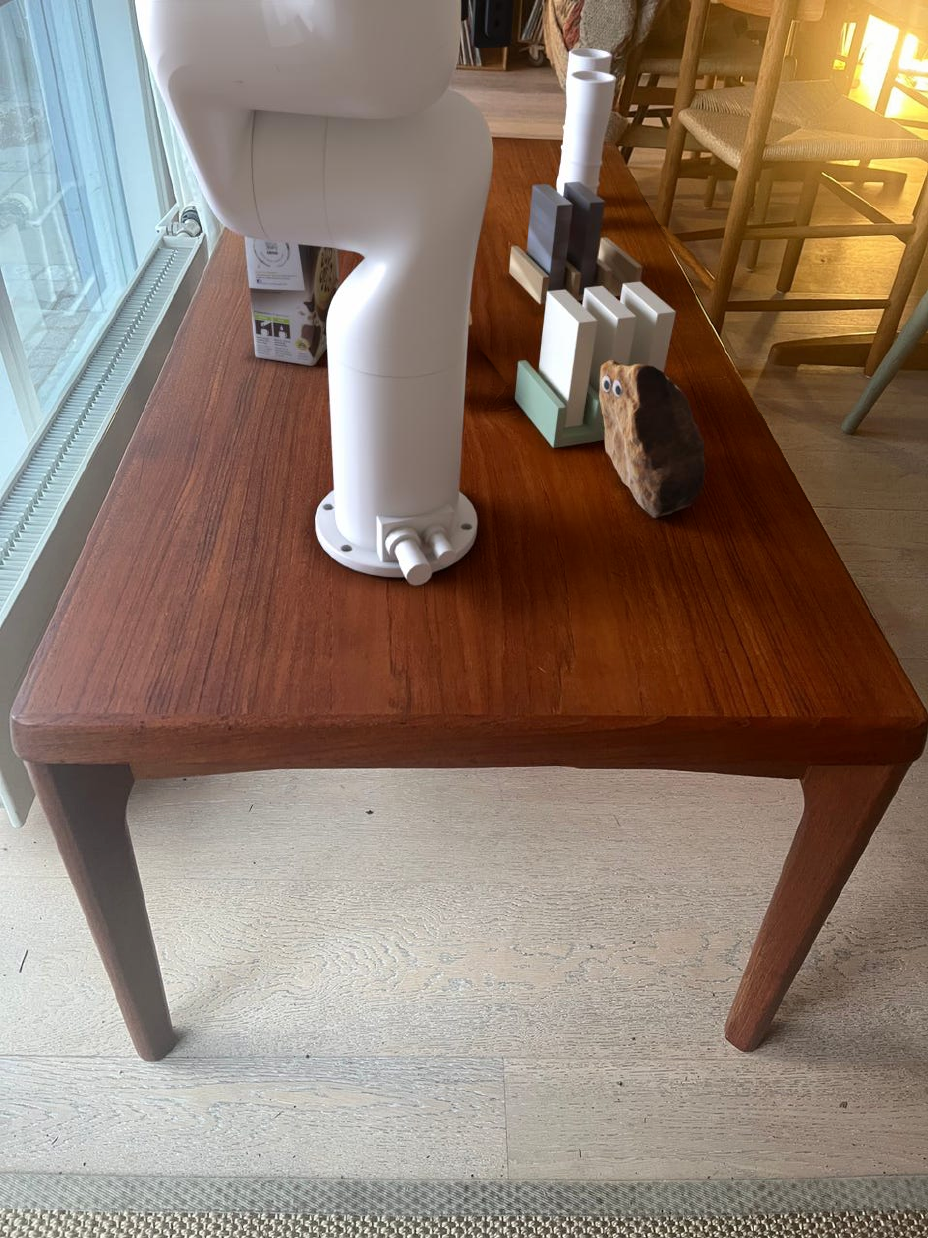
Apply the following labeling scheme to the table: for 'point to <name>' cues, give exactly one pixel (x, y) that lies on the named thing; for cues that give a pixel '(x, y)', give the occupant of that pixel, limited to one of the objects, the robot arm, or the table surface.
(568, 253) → the wooden rack with slabs
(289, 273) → the coffee box
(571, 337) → the cream book
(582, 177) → the binoculars
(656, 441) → the decorative rock
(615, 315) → the green and white rack
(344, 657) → the table surface
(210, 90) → the robot arm
